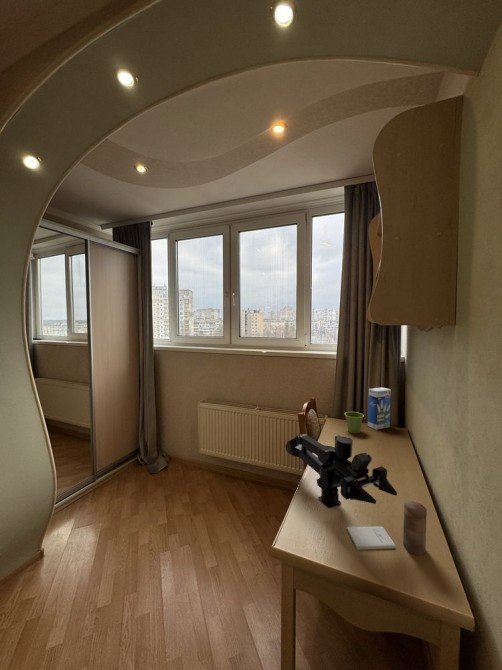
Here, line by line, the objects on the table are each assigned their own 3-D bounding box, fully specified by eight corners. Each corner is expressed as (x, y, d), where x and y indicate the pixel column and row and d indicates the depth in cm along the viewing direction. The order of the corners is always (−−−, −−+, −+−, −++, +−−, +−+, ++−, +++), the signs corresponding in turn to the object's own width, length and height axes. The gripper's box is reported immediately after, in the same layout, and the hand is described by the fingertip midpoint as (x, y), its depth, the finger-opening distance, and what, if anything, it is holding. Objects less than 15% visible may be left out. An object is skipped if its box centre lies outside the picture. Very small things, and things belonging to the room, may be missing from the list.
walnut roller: (398, 543, 87) (399, 503, 86) (411, 537, 89) (412, 498, 88) (416, 557, 81) (418, 515, 81) (429, 551, 84) (431, 510, 83)
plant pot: (361, 428, 180) (362, 412, 179) (365, 436, 168) (365, 418, 168) (343, 427, 183) (343, 410, 182) (345, 434, 171) (345, 416, 171)
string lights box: (376, 430, 178) (377, 391, 177) (367, 426, 185) (367, 388, 184) (390, 426, 184) (391, 389, 182) (380, 423, 190) (381, 386, 189)
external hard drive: (346, 531, 92) (382, 530, 93) (356, 551, 84) (395, 550, 85) (346, 526, 92) (382, 525, 93) (356, 546, 84) (395, 545, 85)
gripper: (329, 454, 93) (366, 480, 78) (369, 443, 100) (408, 466, 86) (327, 484, 94) (363, 516, 80) (366, 472, 102) (405, 499, 87)
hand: (386, 498), depth 83 cm, fingers open, 9 cm apart
